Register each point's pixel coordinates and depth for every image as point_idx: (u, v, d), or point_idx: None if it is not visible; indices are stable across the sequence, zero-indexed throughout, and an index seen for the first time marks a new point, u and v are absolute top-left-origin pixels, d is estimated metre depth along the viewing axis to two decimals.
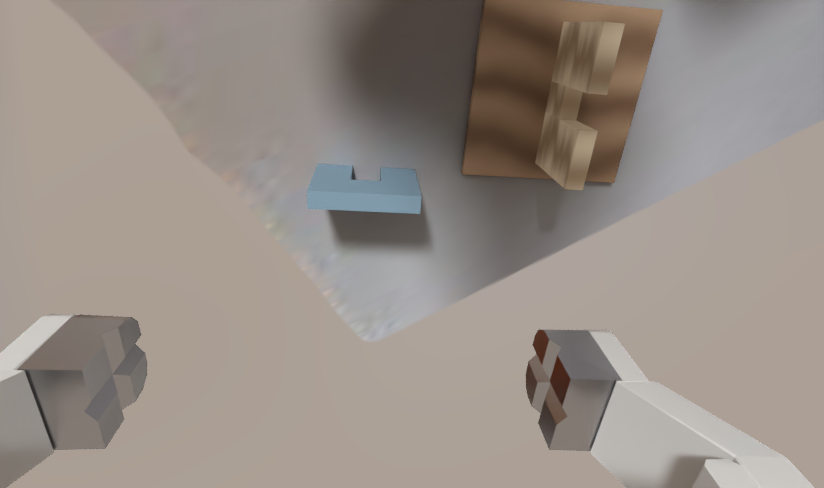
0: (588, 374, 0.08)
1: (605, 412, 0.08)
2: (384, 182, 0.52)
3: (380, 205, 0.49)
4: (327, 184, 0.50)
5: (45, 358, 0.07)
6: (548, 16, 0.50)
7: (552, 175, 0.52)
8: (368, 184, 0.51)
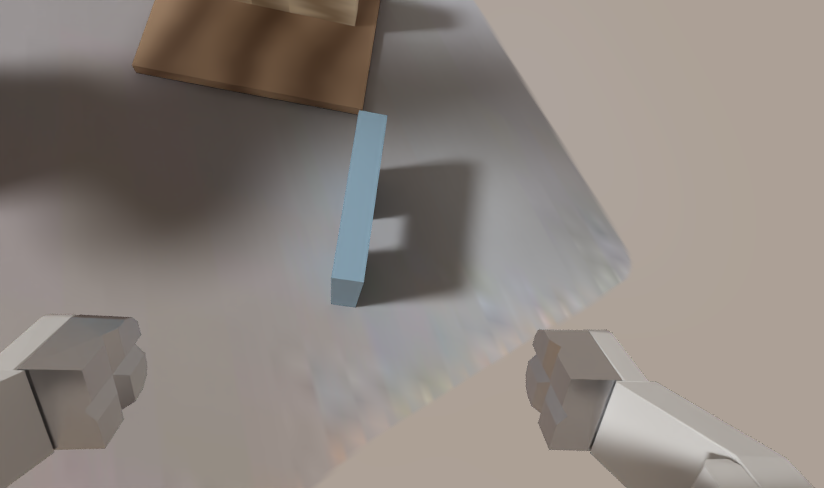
0: (588, 374, 0.08)
1: (605, 411, 0.08)
2: None
3: (368, 168, 0.30)
4: None
5: (46, 359, 0.07)
6: (173, 3, 0.42)
7: None
8: None
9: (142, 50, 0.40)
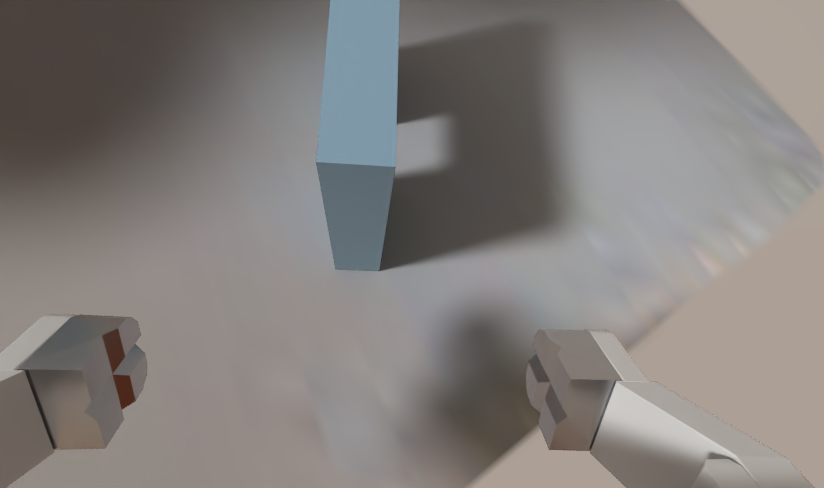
0: (588, 374, 0.08)
1: (605, 412, 0.08)
2: None
3: None
4: None
5: (45, 358, 0.07)
6: None
7: None
8: None
9: None
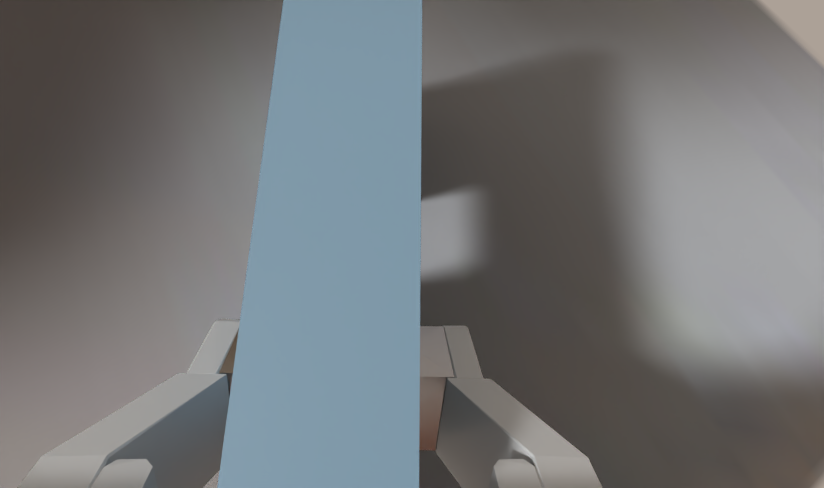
0: (422, 370, 0.08)
1: (442, 409, 0.08)
2: None
3: None
4: None
5: None
6: None
7: None
8: None
9: None
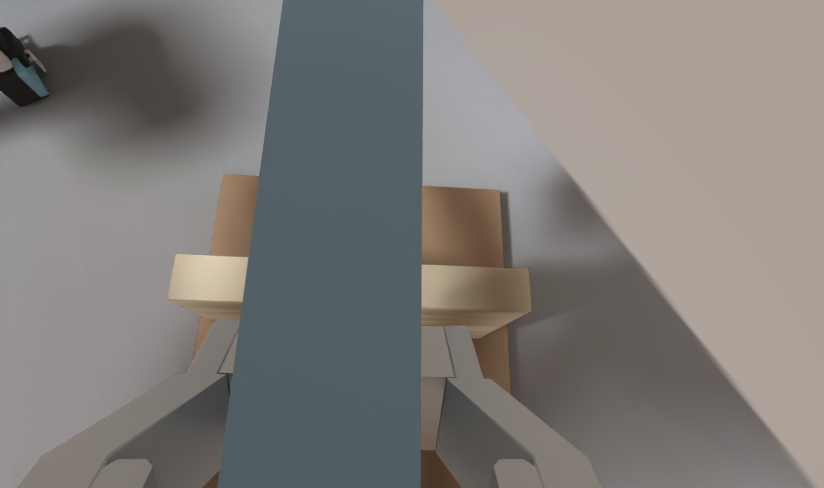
0: (422, 371, 0.08)
1: (442, 410, 0.08)
2: None
3: None
4: None
5: None
6: None
7: (501, 324, 0.25)
8: None
9: None
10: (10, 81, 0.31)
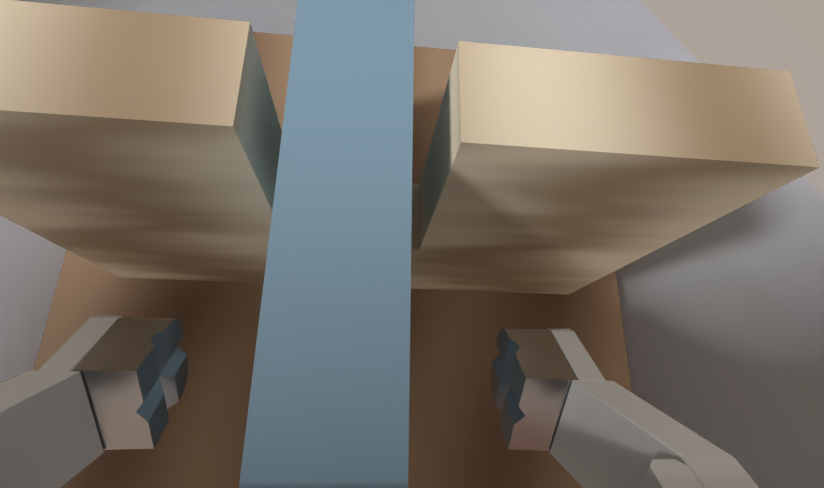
0: (545, 373, 0.08)
1: (562, 411, 0.08)
2: None
3: (368, 8, 0.08)
4: None
5: (99, 360, 0.07)
6: None
7: (662, 241, 0.11)
8: None
9: None
10: None
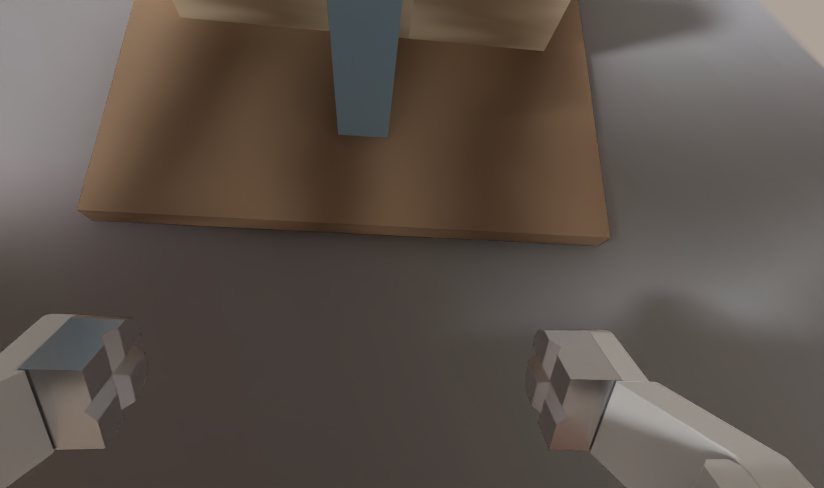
0: (588, 374, 0.08)
1: (605, 412, 0.08)
2: None
3: None
4: None
5: (46, 358, 0.07)
6: (163, 50, 0.19)
7: None
8: None
9: (100, 168, 0.17)
10: None
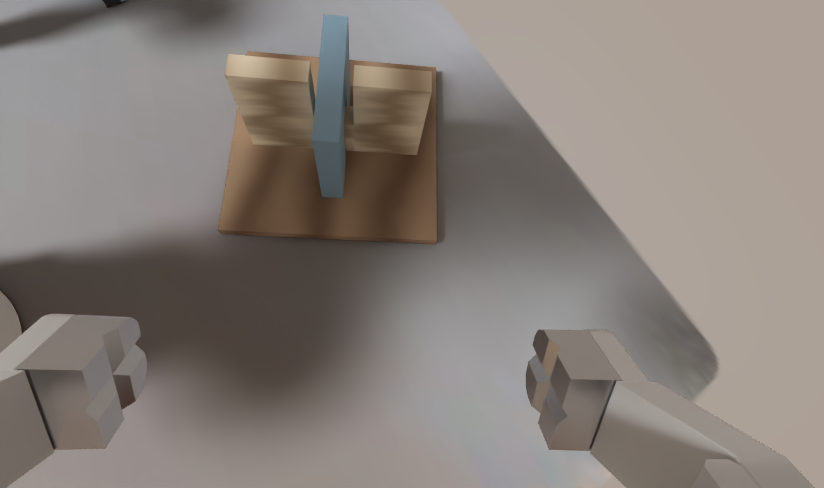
0: (588, 374, 0.08)
1: (605, 411, 0.08)
2: None
3: (335, 57, 0.36)
4: None
5: (46, 358, 0.07)
6: (247, 160, 0.44)
7: (421, 119, 0.40)
8: None
9: (225, 213, 0.42)
10: None
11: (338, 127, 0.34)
